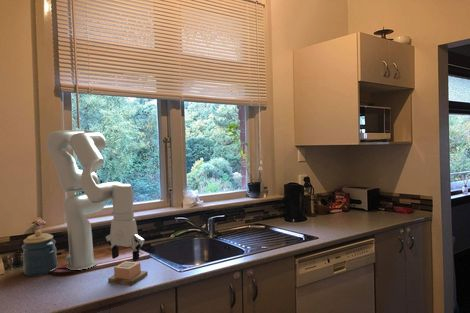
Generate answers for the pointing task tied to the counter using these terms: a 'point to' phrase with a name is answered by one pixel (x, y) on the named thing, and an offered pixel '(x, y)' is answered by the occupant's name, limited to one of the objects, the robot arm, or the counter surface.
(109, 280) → the post board
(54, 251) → the canister
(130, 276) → the collar
